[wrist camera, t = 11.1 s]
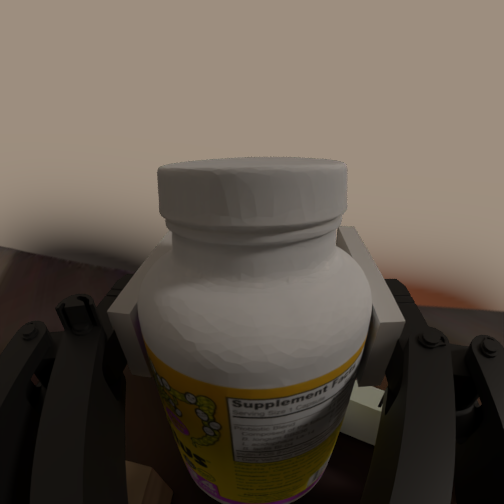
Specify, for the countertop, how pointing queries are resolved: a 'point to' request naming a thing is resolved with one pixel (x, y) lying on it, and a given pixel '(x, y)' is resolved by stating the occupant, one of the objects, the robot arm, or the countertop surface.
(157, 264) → the supplement bottle
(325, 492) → the countertop surface
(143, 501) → the wooden post frame
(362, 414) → the bar
